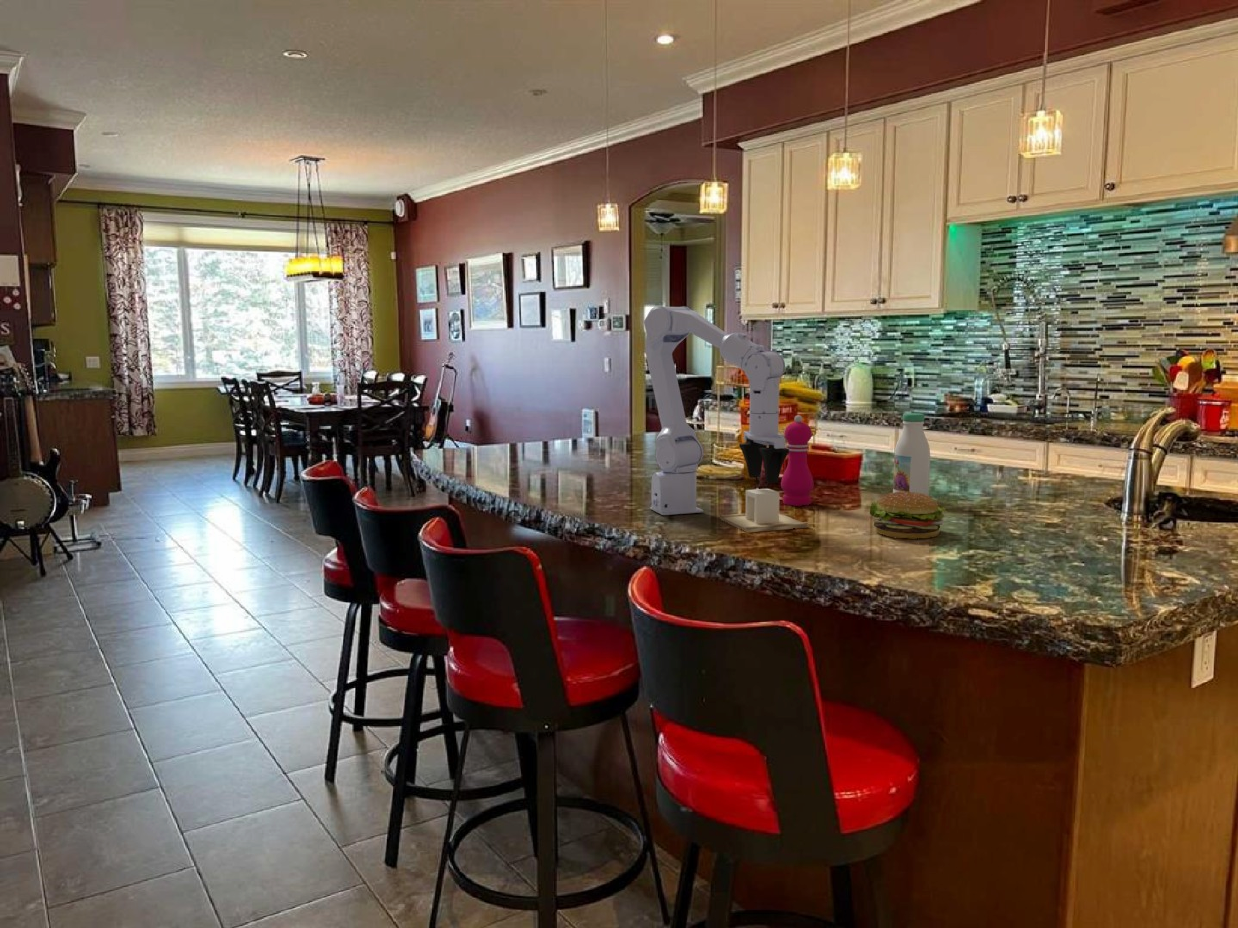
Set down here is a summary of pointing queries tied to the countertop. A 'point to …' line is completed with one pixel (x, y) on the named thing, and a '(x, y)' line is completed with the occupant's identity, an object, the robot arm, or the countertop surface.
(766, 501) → the white block
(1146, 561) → the countertop surface
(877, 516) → the food
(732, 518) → the plate
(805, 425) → the pepper mill
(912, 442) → the milk bottle
